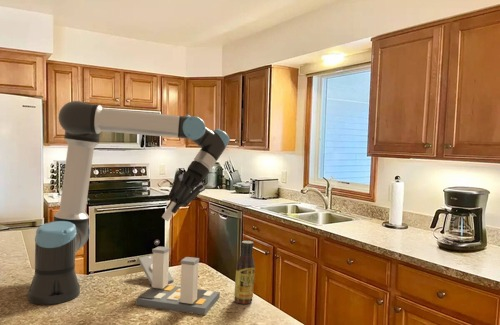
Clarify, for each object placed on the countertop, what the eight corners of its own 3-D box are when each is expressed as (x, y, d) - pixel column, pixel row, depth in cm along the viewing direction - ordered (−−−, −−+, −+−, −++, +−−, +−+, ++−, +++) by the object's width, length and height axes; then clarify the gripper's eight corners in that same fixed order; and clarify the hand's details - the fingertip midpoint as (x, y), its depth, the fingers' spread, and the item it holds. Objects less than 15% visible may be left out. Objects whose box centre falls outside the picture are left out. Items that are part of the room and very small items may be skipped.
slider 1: (150, 287, 126) (152, 249, 125) (157, 283, 130) (158, 246, 130) (162, 289, 125) (164, 250, 124) (168, 284, 129) (170, 247, 129)
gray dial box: (153, 282, 133) (138, 255, 142) (149, 294, 135) (135, 266, 144) (174, 278, 138) (159, 252, 148) (170, 289, 140) (155, 263, 150)
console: (136, 304, 117) (136, 297, 117) (157, 289, 131) (157, 282, 131) (205, 314, 112) (205, 306, 112) (219, 297, 126) (219, 290, 126)
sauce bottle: (238, 306, 119) (241, 244, 119) (230, 299, 125) (233, 240, 124) (256, 303, 122) (259, 243, 122) (248, 296, 128) (250, 239, 127)
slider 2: (179, 302, 114) (180, 260, 114) (184, 297, 119) (186, 256, 118) (192, 304, 113) (194, 262, 113) (197, 298, 118) (199, 258, 117)
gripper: (218, 176, 139) (182, 230, 131) (191, 165, 145) (156, 216, 136) (212, 166, 133) (174, 222, 124) (184, 154, 139) (146, 207, 130)
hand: (164, 219), depth 130 cm, fingers closed
